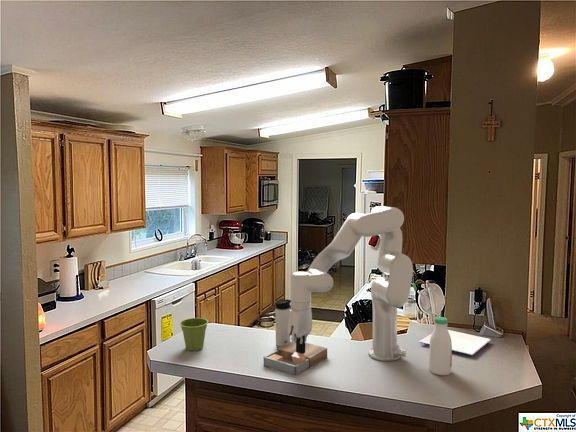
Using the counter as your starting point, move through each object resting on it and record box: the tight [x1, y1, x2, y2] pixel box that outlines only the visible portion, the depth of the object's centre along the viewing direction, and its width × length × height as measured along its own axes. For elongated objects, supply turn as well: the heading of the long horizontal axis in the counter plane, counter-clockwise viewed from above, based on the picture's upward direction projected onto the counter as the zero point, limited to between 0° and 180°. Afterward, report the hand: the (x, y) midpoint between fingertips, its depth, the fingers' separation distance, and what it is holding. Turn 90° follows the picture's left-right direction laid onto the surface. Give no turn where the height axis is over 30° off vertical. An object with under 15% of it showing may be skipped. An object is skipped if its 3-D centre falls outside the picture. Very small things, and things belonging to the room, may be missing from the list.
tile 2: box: [292, 352, 306, 366], centre depth 167 cm, size 4×4×2 cm
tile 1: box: [268, 354, 283, 362], centre depth 170 cm, size 4×4×2 cm
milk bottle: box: [428, 316, 453, 376], centre depth 163 cm, size 8×8×20 cm
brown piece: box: [276, 340, 328, 369], centre depth 176 cm, size 16×12×4 cm
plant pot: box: [179, 317, 209, 351], centre depth 188 cm, size 12×12×11 cm
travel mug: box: [274, 299, 291, 348], centre depth 189 cm, size 6×7×20 cm
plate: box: [418, 329, 491, 356], centre depth 190 cm, size 22×22×2 cm
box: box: [263, 349, 310, 377], centre depth 168 cm, size 15×9×4 cm, turn 53°
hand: (300, 352), depth 168 cm, fingers closed
